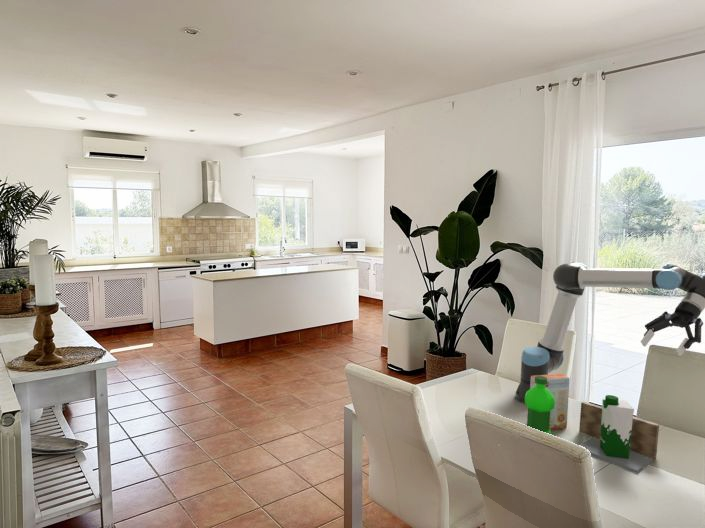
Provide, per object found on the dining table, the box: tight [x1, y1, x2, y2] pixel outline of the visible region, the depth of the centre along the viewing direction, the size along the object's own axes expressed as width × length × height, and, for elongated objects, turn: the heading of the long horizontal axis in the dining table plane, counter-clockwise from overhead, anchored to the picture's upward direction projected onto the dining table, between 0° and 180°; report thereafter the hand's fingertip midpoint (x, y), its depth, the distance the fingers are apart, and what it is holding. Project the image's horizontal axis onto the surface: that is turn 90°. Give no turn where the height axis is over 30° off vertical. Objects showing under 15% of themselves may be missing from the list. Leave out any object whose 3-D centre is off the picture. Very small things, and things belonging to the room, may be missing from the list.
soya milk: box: [599, 394, 635, 459], centre depth 165 cm, size 9×9×20 cm
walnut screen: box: [578, 401, 660, 460], centre depth 174 cm, size 26×2×12 cm, turn 40°
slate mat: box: [579, 437, 653, 474], centre depth 166 cm, size 20×13×1 cm, turn 40°
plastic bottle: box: [524, 376, 555, 435], centre depth 172 cm, size 10×10×25 cm
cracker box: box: [530, 373, 570, 431], centre depth 187 cm, size 14×6×21 cm, turn 104°
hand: (659, 348), depth 175 cm, fingers open, 13 cm apart
